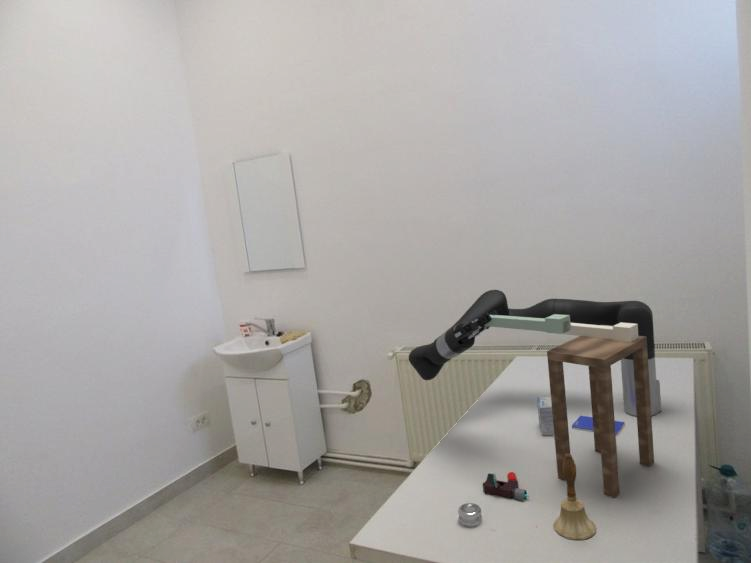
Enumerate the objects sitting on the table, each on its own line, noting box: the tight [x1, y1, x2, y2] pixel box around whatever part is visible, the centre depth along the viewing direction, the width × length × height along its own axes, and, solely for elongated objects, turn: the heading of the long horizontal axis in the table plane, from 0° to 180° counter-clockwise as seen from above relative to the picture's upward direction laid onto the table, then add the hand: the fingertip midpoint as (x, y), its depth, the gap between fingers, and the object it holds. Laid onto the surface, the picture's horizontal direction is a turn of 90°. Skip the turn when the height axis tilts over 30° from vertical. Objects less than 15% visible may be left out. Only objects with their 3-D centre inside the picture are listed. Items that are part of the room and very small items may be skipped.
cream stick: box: [541, 322, 638, 343], centre depth 133 cm, size 24×4×4 cm, turn 39°
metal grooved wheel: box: [457, 502, 483, 528], centre depth 116 cm, size 5×3×5 cm
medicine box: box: [536, 396, 554, 436], centre depth 154 cm, size 8×4×9 cm, turn 168°
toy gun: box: [482, 471, 530, 502], centre depth 127 cm, size 10×12×5 cm
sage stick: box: [481, 314, 571, 335], centre depth 131 cm, size 24×4×4 cm, turn 38°
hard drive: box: [571, 415, 626, 437], centre depth 153 cm, size 2×8×12 cm
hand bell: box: [552, 453, 597, 541], centre depth 108 cm, size 8×8×16 cm
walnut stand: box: [546, 336, 655, 499], centre depth 127 cm, size 14×20×32 cm
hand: (492, 315), depth 138 cm, fingers closed on sage stick, 2 cm apart
